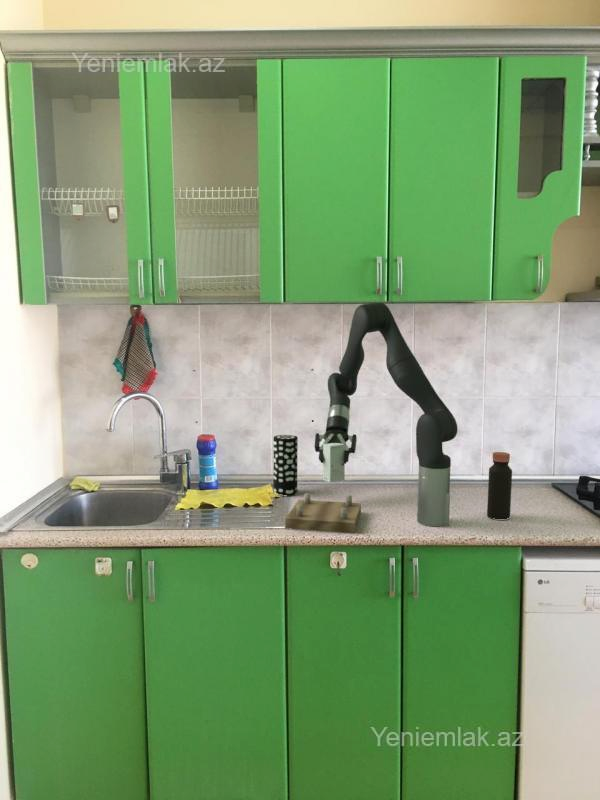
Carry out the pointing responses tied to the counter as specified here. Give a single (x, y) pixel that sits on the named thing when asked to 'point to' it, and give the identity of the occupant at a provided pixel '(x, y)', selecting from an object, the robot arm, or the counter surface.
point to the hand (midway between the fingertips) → (333, 461)
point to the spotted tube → (285, 465)
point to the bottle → (499, 487)
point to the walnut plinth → (324, 515)
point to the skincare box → (333, 462)
